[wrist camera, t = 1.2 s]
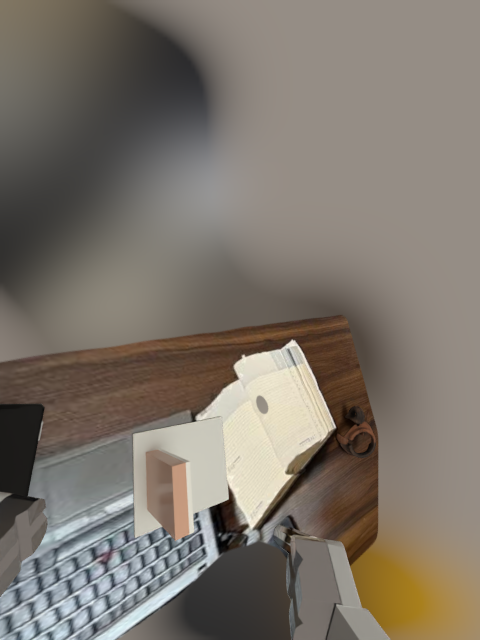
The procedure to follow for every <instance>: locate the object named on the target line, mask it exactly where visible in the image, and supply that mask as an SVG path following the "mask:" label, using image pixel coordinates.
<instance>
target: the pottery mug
mask: <svg viewBox="0 0 480 640" xmlns="http://www.w3.org/2000/svg"><path fill="white" fill-rule="evenodd" d="M355 413H356V415H355ZM364 417H365V416H364V412H363V410H362V409H361V408H360V407H359V406H354V407H352V408H351V409H350V410H349V412H348V414H347V415H345V418H348V419H350V420H352V421H353V422H354V423H356V424H357V425H354V426H353V427H352V428H351V429H350V430H349V431H348V432H347V433H346V435H345V436H341V435H340V434H339V433H338V434H337V436H336V439H337V440H338V442H340V445H341V446H342V448H343V449H344V450H345V451H346V452H347V453H348V454H350V455H353V456H356V457H358V458H365V457H367V456H369V455H370V454H371V453H372V452H373V451H374V449H375V446H376V438H375V436H374V434H373V431H372V429H371V427H370V425H369V424H368V423H367V422H366V421H365V420H364ZM364 432H367V433H369V434H370V436H371V443H370V444H369V447H368V449H367V450H366V451H365V452H363V453H356V452H355V451H354V450H353V448H352V445H351V444H349V443H348V442H349V440H353V439H354V437H355V436H356V435H357V434H361V435H362V436H363V435H364Z"/></svg>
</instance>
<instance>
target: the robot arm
mask: <svg viewBox="0 0 480 640" xmlns="http://www.w3.org/2000/svg"><path fill="white" fill-rule="evenodd" d="M45 508H46V505H45V499H40V498H34V497H29V496H23V495H17V494H12V493H5V492H0V597H1V595H2V594H3V593H4V591H5V590H6V589H7V587H8V586H9V585H10V584H11V582H12V581H13V580H14V578H15V577H16V576H17V574H18V573H19V572H20V570H21V563H22V561H23V560H25V559H26V558H28V557H29V556H31V555H32V554H33V553H34V552H35V550H36V549H37V548H38V546H39V545H40V543H41V541H42V539H43V537H44V535H45V533H46V529H47V518H46V516H45V515H44V514H43V513H42V511H43V510H44V509H45ZM290 545H291V553H289V554H288V560H287V572H286V577H287V592H288V595H289V597H290V599H291V606H290V612H289V617H290V629H291V640H390V638H389V637H388V636H387V635H386V633H385V632H384V631H383V629H382V628H381V627H380V625H379V624H378V623H377V621H376V620H375V619H374V617H373V616H372V615H371V613H370V612H369V611H368V610H367V609H364V608H362V607H361V603H360V600H359V596H358V593H357V590H356V586H355V583H354V579H353V576H352V573H351V569H350V566H349V562H348V559H347V556H346V552H345V549H344V546H343V544H342V543H341V542H339V541H332V540H324V539H321V538H313V537H305V536H298V535H293V536H292V538H291V543H290Z"/></svg>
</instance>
